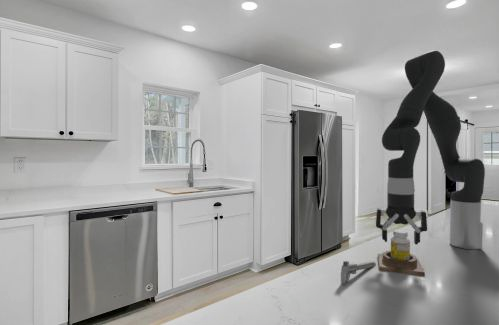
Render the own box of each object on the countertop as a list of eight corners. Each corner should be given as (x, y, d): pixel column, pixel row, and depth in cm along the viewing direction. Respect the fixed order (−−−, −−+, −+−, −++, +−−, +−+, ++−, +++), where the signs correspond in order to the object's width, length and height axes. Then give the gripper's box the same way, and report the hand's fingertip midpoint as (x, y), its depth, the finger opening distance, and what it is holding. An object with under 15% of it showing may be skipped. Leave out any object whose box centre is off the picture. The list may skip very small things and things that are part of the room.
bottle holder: (417, 260, 95) (417, 251, 95) (424, 275, 84) (424, 265, 84) (377, 256, 99) (377, 247, 99) (379, 269, 88) (379, 260, 88)
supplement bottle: (411, 265, 88) (411, 234, 88) (391, 263, 90) (391, 232, 90) (408, 259, 93) (408, 229, 93) (390, 257, 95) (390, 228, 95)
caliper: (344, 286, 78) (344, 263, 78) (340, 285, 79) (340, 262, 79) (376, 265, 93) (376, 245, 92) (373, 264, 93) (373, 244, 93)
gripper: (424, 190, 91) (423, 241, 92) (375, 189, 97) (375, 237, 97) (429, 194, 84) (428, 248, 85) (376, 192, 90) (376, 243, 90)
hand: (400, 242), depth 91 cm, fingers open, 8 cm apart
